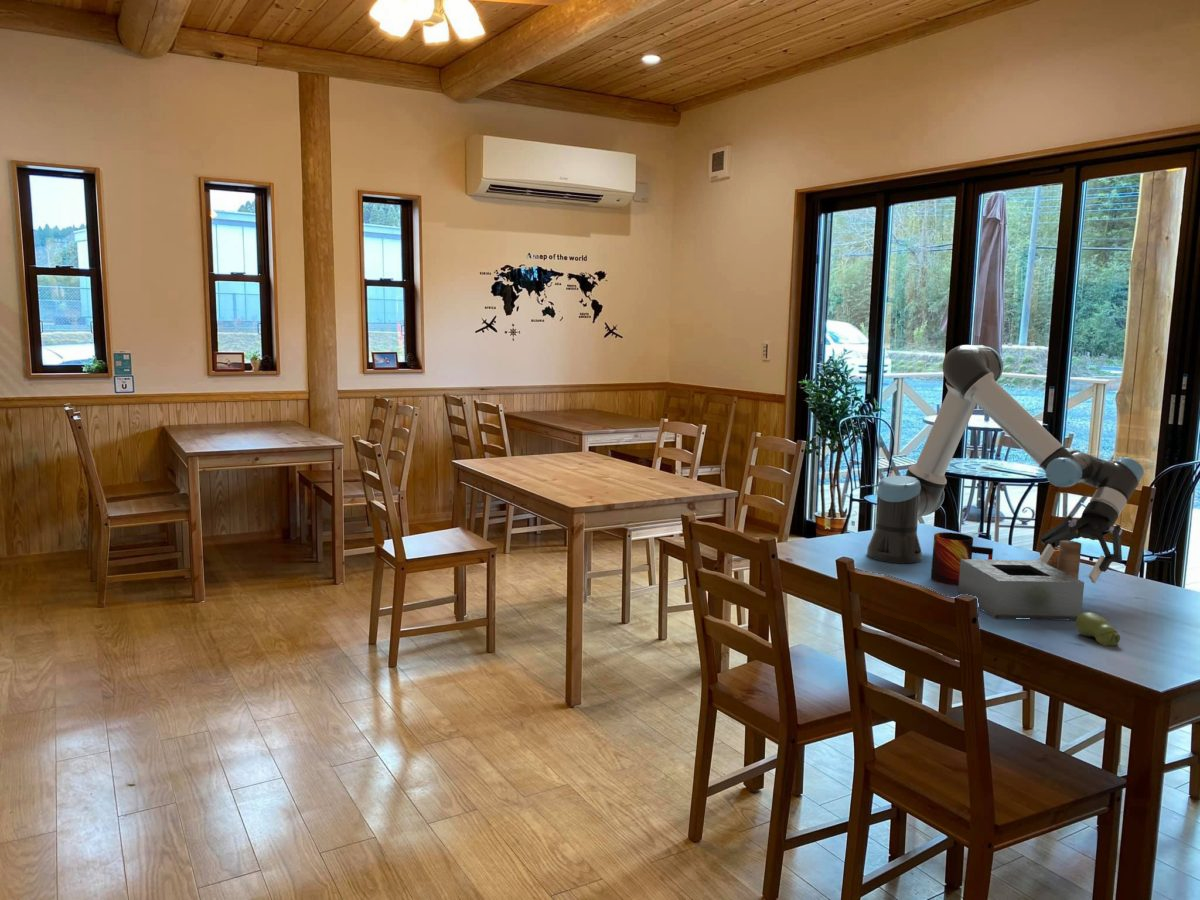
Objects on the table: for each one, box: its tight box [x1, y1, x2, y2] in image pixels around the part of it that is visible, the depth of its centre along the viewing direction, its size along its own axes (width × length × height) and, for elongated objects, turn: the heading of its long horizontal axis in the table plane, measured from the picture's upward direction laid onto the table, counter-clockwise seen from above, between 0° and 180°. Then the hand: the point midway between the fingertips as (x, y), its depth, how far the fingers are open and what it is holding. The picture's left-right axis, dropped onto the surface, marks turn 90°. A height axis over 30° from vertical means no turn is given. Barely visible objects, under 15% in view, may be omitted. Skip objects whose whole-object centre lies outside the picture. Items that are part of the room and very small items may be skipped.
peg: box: [1057, 540, 1082, 580], centre depth 224 cm, size 5×5×14 cm
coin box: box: [957, 558, 1085, 621], centre depth 214 cm, size 20×20×9 cm
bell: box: [1035, 546, 1059, 569], centre depth 248 cm, size 12×12×7 cm
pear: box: [1075, 611, 1121, 647], centre depth 192 cm, size 6×5×10 cm
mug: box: [930, 532, 994, 586], centre depth 237 cm, size 10×14×12 cm
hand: (1064, 573), depth 223 cm, fingers open, 13 cm apart
